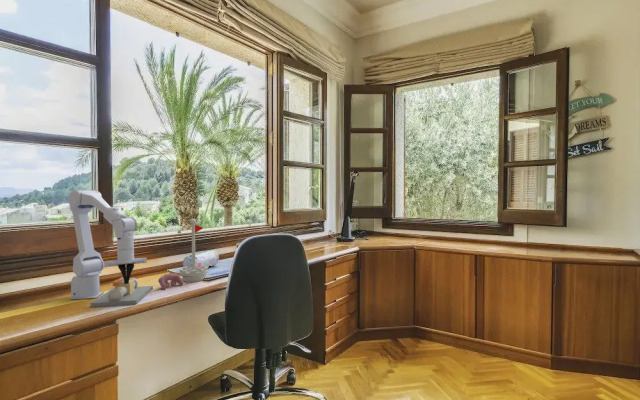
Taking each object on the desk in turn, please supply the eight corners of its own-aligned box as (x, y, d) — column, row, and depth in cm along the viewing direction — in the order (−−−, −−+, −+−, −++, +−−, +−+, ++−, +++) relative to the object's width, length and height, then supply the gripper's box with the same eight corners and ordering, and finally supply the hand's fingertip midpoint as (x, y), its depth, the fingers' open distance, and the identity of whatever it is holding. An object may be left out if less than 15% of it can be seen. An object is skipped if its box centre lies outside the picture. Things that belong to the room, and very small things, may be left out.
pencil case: (193, 273, 189) (193, 255, 188) (181, 272, 192) (180, 254, 192) (220, 266, 207) (219, 249, 207) (208, 265, 211) (208, 249, 211)
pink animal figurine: (180, 287, 166) (176, 273, 168) (184, 284, 164) (180, 270, 165) (159, 292, 158) (155, 277, 160) (163, 289, 156) (160, 273, 158)
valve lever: (122, 279, 147) (122, 275, 147) (129, 278, 148) (129, 275, 148) (112, 286, 136) (112, 282, 136) (119, 285, 136) (119, 281, 136)
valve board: (90, 307, 133) (90, 288, 133) (113, 291, 155) (113, 275, 155) (136, 304, 136) (136, 286, 136) (152, 289, 158) (152, 273, 157)
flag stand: (185, 283, 167) (183, 219, 166) (176, 278, 177) (175, 218, 177) (212, 279, 175) (210, 218, 175) (202, 274, 185) (201, 217, 185)
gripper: (104, 251, 132) (105, 288, 132) (147, 248, 140) (148, 282, 140) (103, 249, 138) (104, 284, 138) (145, 246, 145) (145, 279, 146)
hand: (126, 283), depth 139 cm, fingers closed
